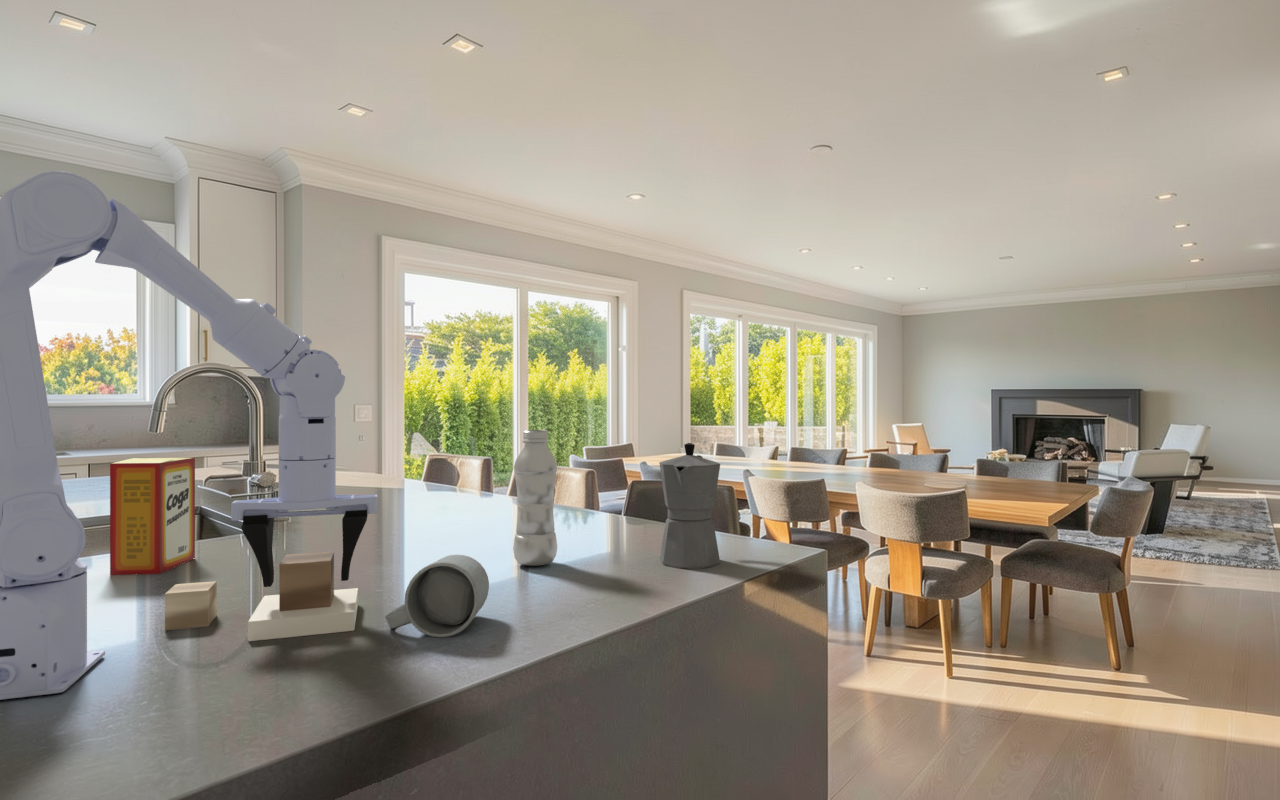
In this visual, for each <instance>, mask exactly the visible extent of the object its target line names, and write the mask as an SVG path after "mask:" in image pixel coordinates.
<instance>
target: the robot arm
mask: <svg viewBox="0 0 1280 800" xmlns="http://www.w3.org/2000/svg"><path fill="white" fill-rule="evenodd" d="M92 251H96V252H99V253H98V254H97V257H96V259H95V261H94V262H95V263H96V264H101V265H106V266H115V267H122V268H130V269H133V270H136V271H137V272H139V273H140V274H141V275H142V276H144V277H146V278H147V280H150V281H151V282H153V283H154V284H155V285H157V286H158V287H160V288H162V289H163V290H165V292H167V293H169V294H170V295H171V296H173V297H174V298H175V299H177V300H179V301H180V302H182V303H183V304H184V305H185V306H187V307H189V308H190V309H191V310H193V311H194V312H195V313H197V314H198V315H199V316H201V317H203V318H204V319H205V320H207V321H209V322H208V323H209V325H210V329H211V336H212V340H213V341H214V342H216V343H217V344H218V345H220V346H221V347H222V348H224V349H225V350H226V351H227V352H229V353H231V354H232V355H233V356H234V357H236V358H237V359H239V360H240V361H241V362H242V363H244V364H245V365H246V366H248V367H250V369H252V370H253V371H255V372H256V373H257V374H259V376H262V377H263V378H264V379H269V381H270V385H271V387H272V390H273V391H274V393H275V394H276V395H277V396H279V416H278V497H266V498H255V499H243V500H242V499H241V500H240V499H239V500H236V499H235V500H234V501H232V502H231V503H230V504H231V507H230V509H231V510H230V511H231V512H230V513H231V514H230V518H231V521H232V522H234V521H242V525H241V528H240V529H241V531H242V534H243V535H244V537H245V539H246V540H247V542H248V544H249V545H250V547H251V549H252V551H253V553H254V555H255V558H256V562H257V563H258V566H259V570H260V574H261V578H262V583H263V588H270V587H272V585H273V584H274V581H275V579H274V577H275V569H274V566H275V565H274V556H273V554H274V553H273V549H274V548H273V546H274V545H273V544H274V525H275V524H274V522H275V519H277V518H293V517H295V518H296V517H312V516H315V517H316V516H330V515H333V516H334V515H343V516H342V520H341V521H342V522H341V523H342V526H341V527H342V559H341V560H342V561H341V569H340V576H341V577H340V578H341V580H340V582H345V581H347V582H348V581H349V579H350V567H351V562H352V558H353V555H354V552H355V549H356V545H357V543H358V541H359V538H360V536H361V534H362V532H363V529H364V528H365V525H366V523H367V519H368V516H369V515H370V514H371V515H372V514H374V515H375V514H378V512H379V511H378V510H379V509H378V502H379V501H378V500H379V498H378V496H379V495H378V494H336V489H337V488H336V480H337V478H336V476H337V474H336V473H337V472H336V466H337V465H336V462H337V461H336V460H337V458H336V456H337V455H336V454H337V451H336V450H337V449H336V446H337V445H336V444H337V442H336V439H337V437H336V436H337V434H336V433H337V429H336V428H337V427H336V426H337V425H336V424H337V423H336V422H337V421H336V398H337V396H338V395H339V394H340V393H341V392H342V389H343V387H344V385H345V380H346V376H345V375H344V374H342V370H341V369H342V368H340V367H339V366H340V365H339V363H338V361H337V360H336V359H335V358H334V356H332V355H331V354H329V353H328V352H326V351H324V350H318V349H311V345H312V343H313V341H312V339H310V338H309V337H308V336H307V335H303V336H302V335H301V336H300V335H299V334H298V333H296V332H295V330H293V329H291V327H289V326H288V325H287V324H285V323H284V322H283V321H282V320H280V319H279V318H278V317H277V316H275V315H274V314H276V312H277V309H276V308H275V307H273V306H272V305H271V304H270V303H268V302H265V303H262V304H260V303H259V302H258V301H256V300H255V299H253V298H234V297H233V296H231V295H230V294H229V293H228V292H226V291H225V290H224V289H223V288H222V287H220V286H219V285H218V284H217V283H216V282H215V281H213V280H212V279H211V278H210V277H209V276H208V275H207V274H205V272H203V271H202V270H201V269H199V267H197V266H196V265H195V264H193V262H191V261H190V260H189V259H188V258H187V257H186V256H184V255H183V254H182V253H181V252H180V251H179V250H178V249H176V248H175V247H174V246H173V245H171V243H169V242H168V241H167V240H166V239H165V238H163V237H162V236H161V235H160V234H159V233H157V232H156V231H155V230H154V229H153V228H152V227H151V226H149V225H148V224H147V223H146V222H145V221H144V220H143V219H141V218H140V216H138V215H137V214H136V213H135V212H134V211H132V210H131V209H130V207H128V206H126V205H125V204H123V203H122V202H120V201H119V200H117V199H115V198H113V197H111V198H110V200H109V199H108V197H107V196H106V195H105V193H104V191H103V190H102V189H101V188H99V186H97V185H96V184H95V183H93V182H92V181H91V180H89V179H87V178H86V177H83V176H81V175H79V174H76V173H73V172H68V171H63V170H50V171H45V172H40V173H37V174H35V175H33V176H31V177H29V178H28V179H26V180H24V181H22V182H21V183H19V184H17V185H16V186H13V187H12V188H11V189H9V190H7V191H5V192H4V193H3V195H2V196H1V198H0V701H1V700H9V699H11V700H12V699H16V698H25V697H26V698H27V697H36V696H43V695H53V694H60V693H63V692H65V691H67V690H68V689H69V688H70V687H71V686H72V685H73V684H74V683H76V681H78V680H79V679H80V678H82V676H83V675H84V674H86V673H87V672H88V671H89V669H91V668H92V667H93V666H94V665H95V664H97V662H99V661H100V660H101V659H102V658H103V657H104V656H105V654H106V652H105V650H103V649H101V650H93V651H92V650H89V651H88V563H85V562H83V561H80V560H79V558H80V557H81V555H82V553H83V552H84V549H85V545H86V539H87V537H86V531H85V527H84V524H82V522H81V520H80V519H79V518H78V517H77V516H76V515H75V513H74V511H73V510H72V509H71V508H70V506H69V505H68V504H67V501H66V497H65V490H64V485H63V481H62V477H61V472H60V467H59V464H58V458H57V452H56V446H55V439H54V433H53V427H52V426H53V425H52V420H51V414H50V410H49V409H50V408H49V402H48V397H47V395H48V394H47V391H46V384H45V378H44V373H43V366H42V365H43V364H42V360H41V354H40V352H41V351H40V348H39V341H38V336H37V335H38V334H37V329H36V321H35V317H34V310H33V304H32V298H31V294H30V293H31V291H30V288H32V287H33V286H34V285H36V284H37V283H38V282H40V281H41V279H43V278H44V277H45V276H47V275H48V274H50V272H51V271H53V269H54V268H55V267H58V266H60V265H64V264H67V263H69V262H70V263H71V262H72V261H75V260H77V259H79V258H82V257H84V256H87V255H88V254H90V253H91V252H92Z"/></svg>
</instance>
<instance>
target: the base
mask: <svg viewBox="0 0 1280 800" xmlns="http://www.w3.org/2000/svg"><path fill="white" fill-rule="evenodd" d="M358 607H359V588H358V587H353V588H343V589H334V597H333V600H332V604H331V607H322V608H311V609H300V610H289V611H279V594H272V595H271V594H270V595H269V594H268V595H264V596H263V597H262V599H261V601H260V602H259V603H258V605H257V606H256V608H255V610H254V611H253V613H252V614H251V616H250V618H249V619H248V622H247V641H248V642H255V641H264V640H265V641H266V640H273V639H275V640H276V639H284V638H285V639H286V638H294V637H295V638H296V637H303V636H306V637H307V636H314V635H324V634H325V635H326V634H332V633H333V634H334V633H335V634H336V633H344V632H354V631H355V628H356V621H357V615H358V614H357V613H358V610H359V609H358Z"/></svg>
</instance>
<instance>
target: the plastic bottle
mask: <svg viewBox="0 0 1280 800" xmlns="http://www.w3.org/2000/svg"><path fill="white" fill-rule="evenodd" d="M522 433H523V435H522V436H523V438H522V444H523V443H524V446H523V448H522V450H521V451H520V452H519V454H518V456H517V458H516V459H515V461H514V465H513V468H514V470H513V471H514V479H515V487H516V495H517V496H516V497H517V498H516V500H517V517H516V518H517V519H516V531H515V534H514V539H513V547H512V550H513V555H514V559H515V560H516V562H517V563H518V564H519V565H522V566H523V565H524V566H529V567H530V566H531V567H538V566H539V567H540V566H544V565H548V564H551V563H553V561H554V559H556V557H557V551H558V542H557V541H558V540H557V535H556V532H555V531H556V529H555V520H554V519H555V517H554V499H555V488H556V487H555V486H556V481H557V472H558V464H557V460H556V458H555V456H554V454H553V453H552V451H551V450H550V449H549V448H548V446H547V444H548V443H549V437H548V436H549V434H548V433H549V432H548V430H547V429H524V430H523V432H522Z"/></svg>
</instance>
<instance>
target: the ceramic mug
mask: <svg viewBox="0 0 1280 800" xmlns="http://www.w3.org/2000/svg"><path fill="white" fill-rule="evenodd" d="M489 589H490V581H489V576H488V573H487V571H486V569H485V568H484V566H483V565H482V564H481V563H480V562H479V561H478V560H477V559H475V558H472V557H471V556H469V555H465V554H450V555H446V556H444V557H441V558H440V559H438V560H436V561H434V562H432V563H430V564H428V565H426V566H425V567H423V568H421V569H420V570H419V571H417V572H416V574H415V575H413V577H412V578H411V580H410V581H409V583H408V585H407V587H406V590H405V593H404V602H403V603H404V604H401V605H399V606H397V607H396V608H394V609H392V610H390V611H389V612H388V613H386V614H385V620H386V623H387V624H388V627H389V628H390V629H394V628H399V627H401V626H403V625H405V624H408V623H409V622H410V623H411V624H412V625H413V627H414V628H415V629H417V630H418V631H419V632H421V634H424V635H426V636H429V637H434V638H449V637H452V636H456V635H458V634H459V633H461V632H463V631H464V630H465V629H467V627H468V626H469V625H470V624H471V623H472V621H473V620H474V619H475V617H476V615H477V614H478V613H479V611H481V610H482V608H483V607H484V605H485V603H486V601H487V598H488V595H489Z"/></svg>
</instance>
